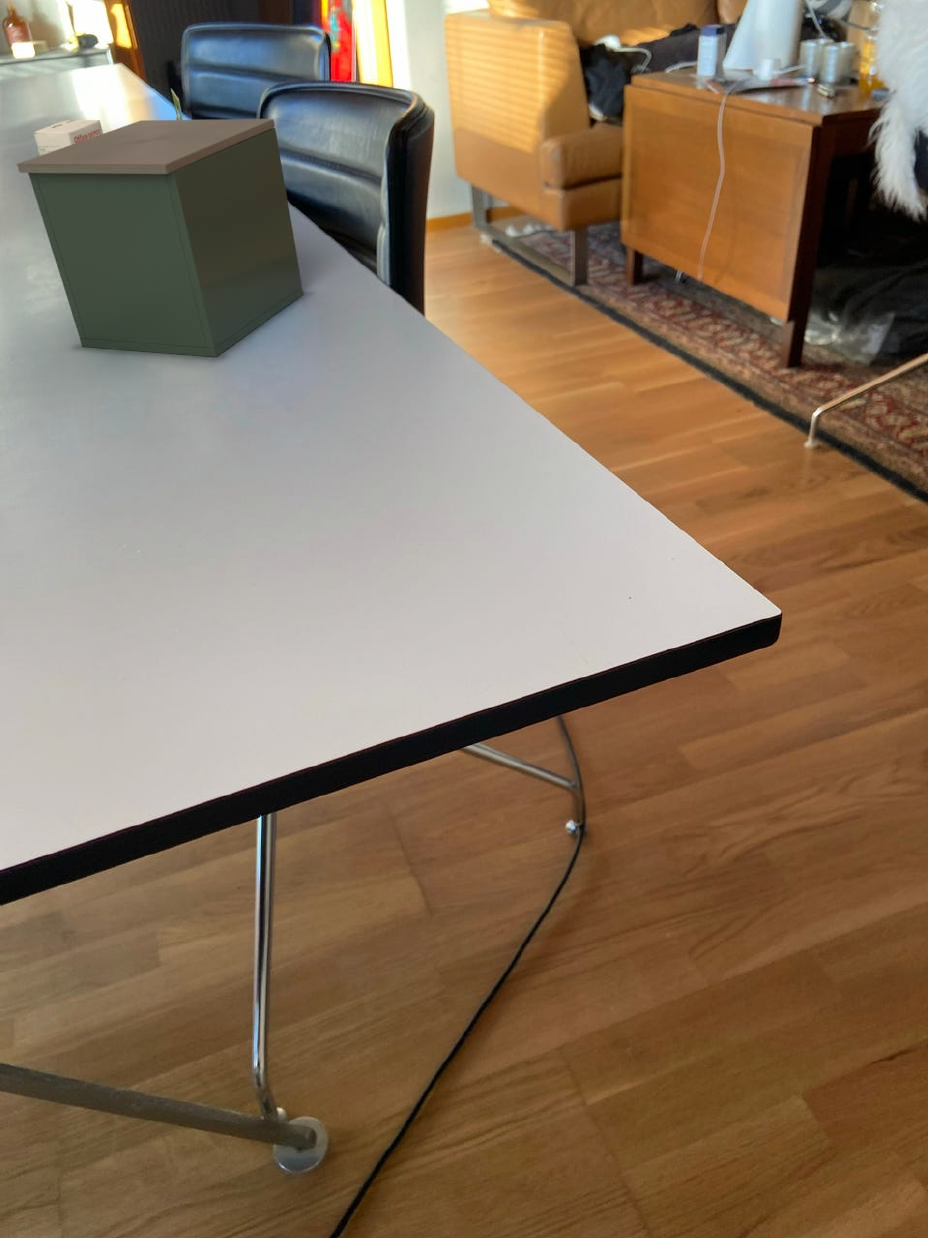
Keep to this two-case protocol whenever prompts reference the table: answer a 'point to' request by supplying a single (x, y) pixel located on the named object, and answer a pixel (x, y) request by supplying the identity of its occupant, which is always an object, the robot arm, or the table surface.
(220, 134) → the bin lid
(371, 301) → the table surface
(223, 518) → the table surface
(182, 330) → the trash can
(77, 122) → the ink box
